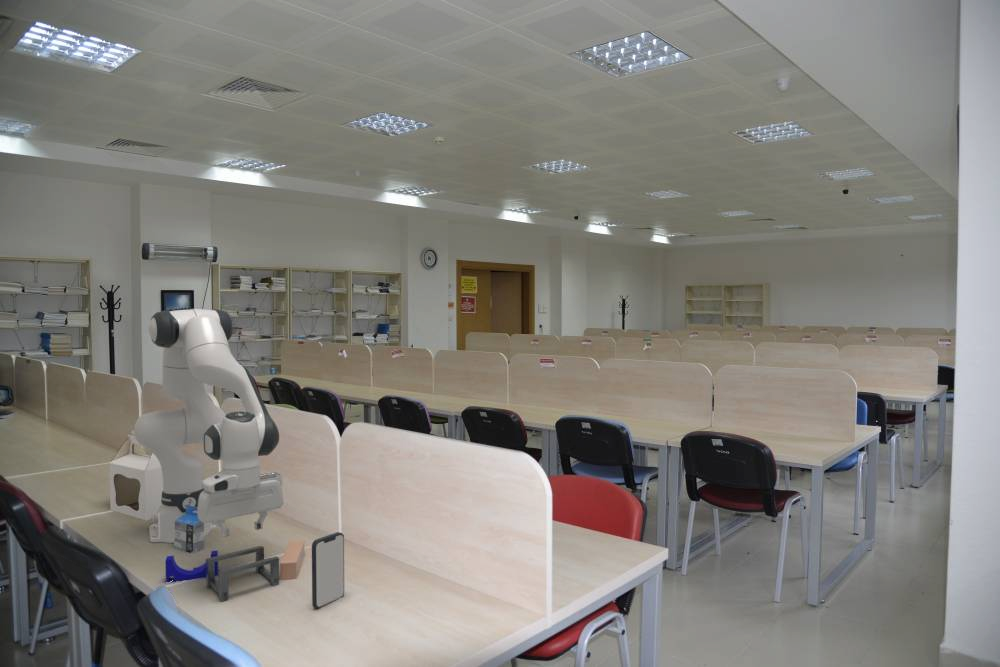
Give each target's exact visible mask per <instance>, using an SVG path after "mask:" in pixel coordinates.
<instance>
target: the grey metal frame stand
mask: <svg viewBox="0 0 1000 667" xmlns="http://www.w3.org/2000/svg"><path fill="white" fill-rule="evenodd" d="M254 553H255V561H254V562H249V563H243V564H241V565H237V566H233V567H229V568H224V569H221V570H218V582H217V581H216V576H215V562H217V561H218V562H222V561H225V560H229V559H234V558H237V557H241V556H245V555H249V554H250V555H251V554H254ZM210 557H211V556H210ZM210 557H207V558H205V563H206V579H205V580H206V581H205V583H206V584H205V585H206V586H205V587H206V588H208V589H210V588H213V589H214V590H215V591H216V593H218V596H219V597H218V598H219V599H218V600H219V602H221V603H222V602H226V601H229V575H231V574H234V573H238V572H239V573H240V572H243V571H246V570H250V569H255V572H256V573H257V574H262V575H264V576H265V577H266V578H267V579H269V580H270V586H272V587H276V586H279V585H280V557H278V556H272V557H269V558H265V547H264V546H263V545H258V546H257V545H256V546H253V547H249V548H246V549H241V550H238V551H237V550H236V551H233V552H228V553H224V554H219V555H218V556H215V557H211V558H210ZM269 564H270V565H269ZM266 565H269V566H270V567H269V568H270V569H267V568H266V567H265V566H266Z"/></svg>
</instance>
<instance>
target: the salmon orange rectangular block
mask: <svg viewBox="0 0 1000 667" xmlns="http://www.w3.org/2000/svg"><path fill="white" fill-rule="evenodd" d="M305 548H306V547H305V540H292V541H290V540H289V542H288V544H287V546H286V549H285V551H284V554H283V556H282V558H281V559H280V561H279V581H289V580H297V578H298V576H299V573H300V572H299V571H301V570H300V568H301V567H302V563H303V561H304V556H305Z"/></svg>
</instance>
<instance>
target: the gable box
mask: <svg viewBox="0 0 1000 667" xmlns="http://www.w3.org/2000/svg"><path fill="white" fill-rule="evenodd" d="M127 436H128V438H127V439H126V440H125V441H124V442H123V444H122V445H121V446H120V448H119V450H117V452H116V453H115V455H114V456H113V458H112V459H111V461H110V462H109V466H108V467H109V498H110V499H109V501H110V502H109V505H110V506H109V507H110V508H109V510H110V511H114V512H116V513H120V514H123V515H127V516H129V517H133V518H135V519H139V520H143V521H149V520H151V515H157V510H158V509H159V507H160V506H161V504H162V503H161V495H162V491H163V475H162V468H161V465H160V462H159V460H158V459H157V457H156V456H155V455H154V454H153V453H152V452H151V455H148V454H147V453H146V451H145V450H144V447H143V446H142V445H141V444H139V442H138V441H137V440H136V438H135V435H134V429H133V430H131V433H127ZM135 503H138V510H136V509H134V508H133V507H131V506H130V505H132V504H135Z"/></svg>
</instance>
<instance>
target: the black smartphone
mask: <svg viewBox="0 0 1000 667" xmlns="http://www.w3.org/2000/svg"><path fill="white" fill-rule="evenodd" d="M311 586H312V587H311V591H312V592H311V602H312V603H311V604H312V607H314V608H315V609H321V608H323V607H326V606H327V605H329V604H332V603H333V602H335V601H337V600H339V599H342V598H343V597H344V596H345V537H344V534H343V533H342V532H340V531H337V532H334V533H331V534H328V535H325V536H322V537H320V538H319V537H318V538H317V539H314V540H313V541H312V543H311Z"/></svg>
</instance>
